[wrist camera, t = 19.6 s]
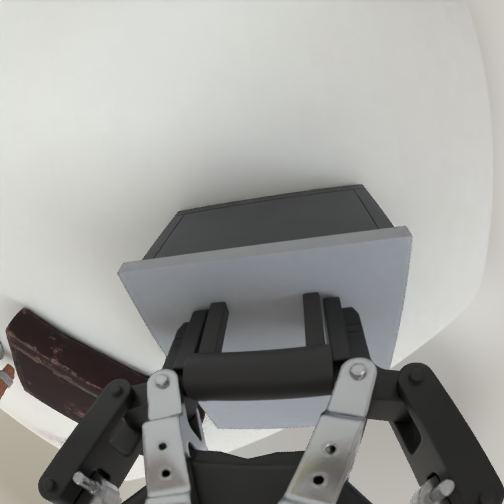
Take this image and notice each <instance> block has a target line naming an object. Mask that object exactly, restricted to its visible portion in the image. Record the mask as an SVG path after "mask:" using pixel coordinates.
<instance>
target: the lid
mask: <svg viewBox="0 0 504 504" xmlns="http://www.w3.org/2000/svg"><path fill="white" fill-rule="evenodd" d="M411 244H412V234H411V233H410V231H409V230H408V228H407V227H406V226H401V227H393V228H385V229H377V230H369V231H361V232H353V233H345V234H337V235H329V236H321V237H314V238H306V239H298V240H290V241H283V242H275V243H267V244H260V245H252V246H244V247H237V248H229V249H222V250H214V251H207V252H199V253H192V254H184V255H177V256H170V257H162V258H155V259H148V260H140V261H133V262H126V263H123V265H122V266H121V268H120V269H119V271H118V272H117V273H118V275H119V277H120V279H121V281H122V283H123V285H124V287H125V288H126V290H127V292H128V294H129V296H130V297H131V299H132V301H133V303H134V305H135V306H136V308H137V310H138V312H139V313H140V315H141V317H142V318H143V320H144V322H145V323H146V325H147V327H148V328H149V330H150V332H151V333H152V335H153V337H154V338H155V340H156V341H157V343H158V345H159V346H160V348H161V349H162V351H163V352H164V354H165V356H166V357H167V355H168V353H169V350H170V347H171V346H172V342H173V340H174V337H175V335H176V332H177V330H178V329H179V328H180V326H181V325H182V324H183V323H184V322H189V321H190V319H191V316H192V313H193V312H194V311H200V310H209V313H208V316H207V320H206V324H205V328H204V332H203V336H202V340H201V344H200V348H199V352H198V353H192V354H190V355H188V357H187V358H186V360H185V363H184V369H183V382H184V388H185V391H186V393H187V395H188V397H189V398H190V399H192V400H200V401H199V402H198V403H199V405H200V406H201V407H202V409H203V410H204V411H205V413H206V414H207V415H208V416H209V418H210V419H211V420H212V422H213V423H214V424H215V426H216V427H217V428H220V429H276V428H295V427H309V426H316V424H317V422H318V419H319V417H320V415H321V413H322V412H324V411H325V410H326V408H327V405H328V402H329V400H330V397H331V394H332V391H333V388H334V373H333V361H332V352H331V347H330V345H329V344H326V337H325V326H324V311H323V299H325V298H333V297H339V298H340V302H341V307H342V308H346V307H353V308H354V309H355V310H356V311H357V312H358V313H359V316H360V320H361V324H362V327H363V331H364V334H365V338H366V342H367V346H368V350H369V354H370V358H371V360H372V361H373V363H374V364H375V365H377V366H378V367H380V368H382V369H386V370H389V369H390V365H391V361H392V357H393V353H394V348H395V344H396V339H397V335H398V330H399V325H400V320H401V315H402V309H403V304H404V298H405V291H406V285H407V278H408V271H409V263H410V254H411ZM202 401H207V402H202Z"/></svg>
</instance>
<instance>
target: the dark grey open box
mask: <svg viewBox="0 0 504 504" xmlns="http://www.w3.org/2000/svg"><path fill="white" fill-rule="evenodd" d="M393 227H394V226H393V225H392V223H391V222H390V220H389V219H388V218H387V216H386V215H385V214H384V212H383V211H382V209H381V208H380V207H379V205H378V204H377V203H376V201H375V200H374V199H373V198H372V196H371V195H370V194H369V192H368V191H367V190H366V188H364V186H363V185H353V186H344V187H335V188H327V189H319V190H311V191H304V192H296V193H289V194H282V195H275V196H268V197H261V198H255V199H249V200H242V201H236V202H230V203H224V204H218V205H212V206H207V207H201V208H195V209H190V210H184V211H179V212H178V213H177V214H176V215H175V217H174V218H173V219H172V220H171V222H170V223H169V224H168V226H167V227H166V228H165V230H164V231H163V232H162V233H161V235H160V236H159V237H158V239H157V240H156V241H155V243H154V244H153V245H152V247H151V248H150V250H149V251H148V252H147V254H146V255H145V256H144V258H143V259H142V260H148V259H155V258H162V257H170V256H177V255H184V254H192V253H199V252H207V251H214V250H222V249H229V248H237V247H244V246H252V245H260V244H267V243H275V242H283V241H290V240H298V239H306V238H314V237H321V236H329V235H337V234H345V233H353V232H361V231H369V230H377V229H385V228H393Z"/></svg>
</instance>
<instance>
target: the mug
mask: <svg viewBox="0 0 504 504" xmlns="http://www.w3.org/2000/svg"><path fill="white" fill-rule="evenodd" d="M3 357H4V353H3V348H2V345H1V343H0V360H1V359H3ZM14 370H15V369H14V368H13V367H12V366H11V365H9V364H7V365H6V366H5V367H4V369H3V370H0V399H1V397H2V395H3V394H4V392H5V390H6V389H7V388H9V387H10V386H11V385H12V383H13V381H12V380H13V379H14Z"/></svg>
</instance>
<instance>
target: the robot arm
mask: <svg viewBox="0 0 504 504" xmlns="http://www.w3.org/2000/svg"><path fill="white" fill-rule="evenodd" d="M323 311H324V326H325V337H326V344H329V345H330V347H331V352H332V361H333V373H334V388H333V391H332V394H331V397H330V400H329V402H328V405H327V408H326V410H325V411H324V412H322V413H321V415H320V417H319V419H318V422H317V424H316V427H315V429H314V431H313V434H312V436H311V439H310V441H309V443H308V446H307V448H306V450H305V451H295V452H276V453H272V454H268V455H263V456H259V457H254V458H249V459H246V458H242V457H238V456H234V455H231V454H227V453H224V452H219V451H208V449H207V446H206V443H205V438H204V434H203V429H202V424H201V419H200V414H199V411H198V409H197V406H198V402H199V401H200V400H192V399H190V398H189V397H188V395H187V393H186V391H185V388H184V382H183V369H184V363H185V360H186V358H187V357H188V355H190V354H192V353H198V352H199V348H200V344H201V340H202V336H203V332H204V328H205V324H206V320H207V316H208V313H209V310H200V311H194V312H193V313H192V316H191V319H190V321H189V322H184V323H183V324H182V325H181V326H180V328H179V329H178V330H177V332H176V335H175V337H174V340H173V342H172V346H171V347H170V350H169V353H168V355H167V358H166V360H165V363H164V365H163V368H162V370H159V371H157V372H155V373H153V374H152V375H151V376H150V378H149V379H148V382H146V383H142V384H138V385H133V386H131V385H130V384H129V382H128V381H127V380H125V379H116V380H113V381H111V382H110V383H109V384H107V386H106V387H105V388H104V389H103V391H102V392H101V394H100V395H99V396H98V398H97V399H96V400H95V402H94V403H93V404H92V406H91V407H90V408H89V410H88V411H87V413H86V414H85V415H84V417H83V418H82V419H81V421H80V422H79V424H78V425H77V426H76V428H75V429H74V430H73V432H72V433H71V435H70V436H69V437H68V439H67V440H66V442H65V443H64V444H63V446H62V447H61V449H60V450H59V452H58V453H57V454H56V456H55V457H54V459H53V460H52V462H51V463H50V465H49V466H48V468H47V469H46V471H45V472H44V474H43V475H42V476H41V478H40V480H39V483H38V488H39V492H40V494H41V496H42V497H43V498H45V499H46V500H48V501H50V502H52V503H53V504H372V503H371V502H370V501H369V500H368V499H367V498H366V497H364V496H363V495H362V494H361V493H360V492H359V491H358V490H357V489H356V488H355V487H354V486H352V484H350V483H349V482H348V479H349V477H350V474H351V471H352V469H353V465H354V463H355V459H356V456H357V453H358V450H359V446H360V443H361V440H362V437H363V433H364V430H365V426H366V423H367V419H375V420H384V421H389V423H390V425H391V427H392V429H393V431H394V433H395V435H396V437H397V439H398V441H399V443H400V445H401V447H402V450H403V452H404V454H405V456H406V458H407V460H408V462H409V464H410V466H411V468H412V470H413V473H414V475H415V477H416V479H417V481H418V483H419V486H420V488H419V489H418V490H417V491H416V492H415V493H414V494H413V496H412V498H411V500H410V504H502V502H503V499H504V487H503V485H502V483H501V481H500V479H499V477H498V475H497V474H496V472H495V470H494V468H493V466H492V465H491V463H490V461H489V459H488V457H487V456H486V454H485V452H484V451H483V449H482V447H481V446H480V444H479V442H478V441H477V439H476V437H475V436H474V434H473V432H472V431H471V429H470V427H469V426H468V424H467V423H466V421H465V419H464V418H463V416H462V415H461V413H460V412H459V410H458V408H457V407H456V405H455V404H454V402H453V401H452V399H451V398H450V396H449V395H448V393H447V392H446V390H445V389H444V388H443V386H442V384H441V383H440V382H439V380H438V379H437V377H436V376H435V374H434V373H433V372H432V370H431V369H430V368H429V367H428V366H427V365H425V364H422V363H410V364H407V365H405V366H404V367H403V368H402V369H401V370H400V371H395V370H394V371H393V370H386V369H382V368H380V367H378V366H377V365H375V364H374V363H373V361H372V360H371V358H370V354H369V350H368V346H367V342H366V338H365V334H364V331H363V327H362V324H361V320H360V316H359V313H358V312H357V311H356V310H355V309H354V308H353V307H346V308H342V307H341V302H340V298H339V297H333V298H325V299H323ZM202 402H207V401H202ZM121 420H123V421H124V422H123V424H122V425H121V427H120V428H119V430H118V431H117V433H116V434H115V436H114V437H113V439H112V440H111V442H110V437H111V435H112V433H113V432H114V430H115V429H116V427H117V426H118V424H119V423H120V421H121ZM142 449H143V453H144V466H145V477H146V486H144V487H143V488H142V489H140V490H139V491H138V492H136V493H135V494H134V495H133V496H131V497H130V498H128V499H127V500H126V501H124V502H123V503H121V498H120V496H119V495H120V494H119V490H118V489H119V487H120V486H121V484H122V482H123V481H124V479H125V477H126V476H127V474H128V472H129V471H130V469H131V467H132V466H133V464H134V462H135V461H136V459H137V457H138V456H139V454H140V452H141V451H142Z"/></svg>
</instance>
